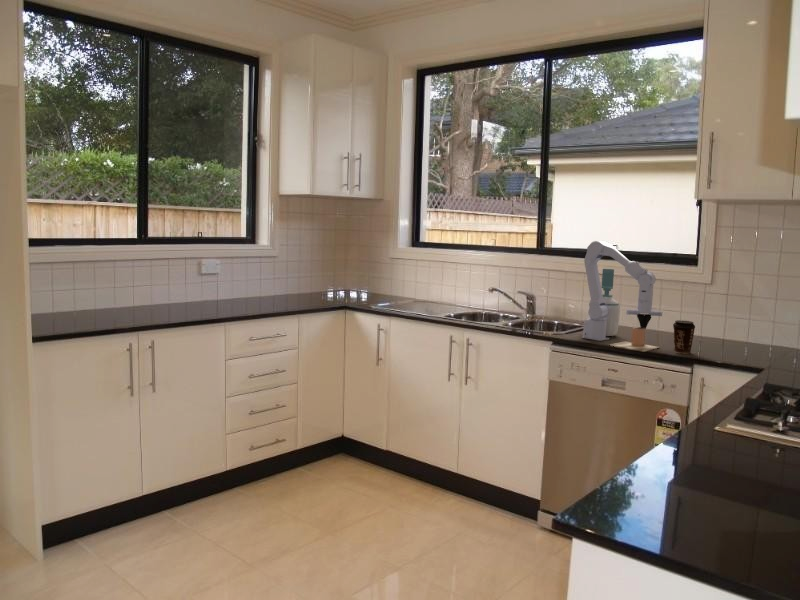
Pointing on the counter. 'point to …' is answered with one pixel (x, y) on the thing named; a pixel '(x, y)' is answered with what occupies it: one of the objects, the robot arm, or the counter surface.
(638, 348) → the board
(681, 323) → the coffee cup
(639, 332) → the block
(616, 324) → the soap bottle
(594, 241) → the robot arm
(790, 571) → the counter surface
